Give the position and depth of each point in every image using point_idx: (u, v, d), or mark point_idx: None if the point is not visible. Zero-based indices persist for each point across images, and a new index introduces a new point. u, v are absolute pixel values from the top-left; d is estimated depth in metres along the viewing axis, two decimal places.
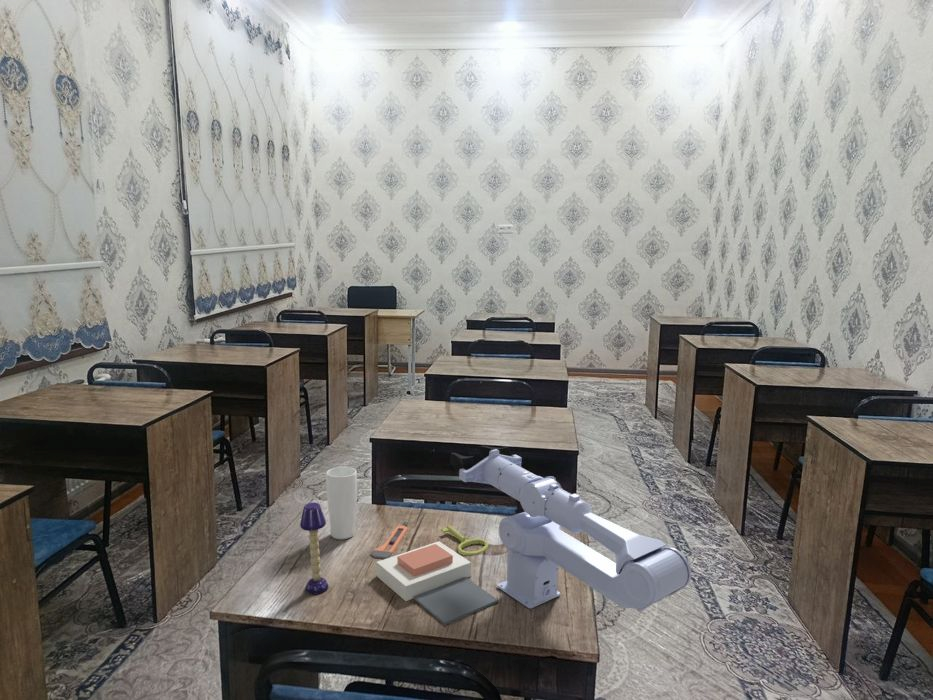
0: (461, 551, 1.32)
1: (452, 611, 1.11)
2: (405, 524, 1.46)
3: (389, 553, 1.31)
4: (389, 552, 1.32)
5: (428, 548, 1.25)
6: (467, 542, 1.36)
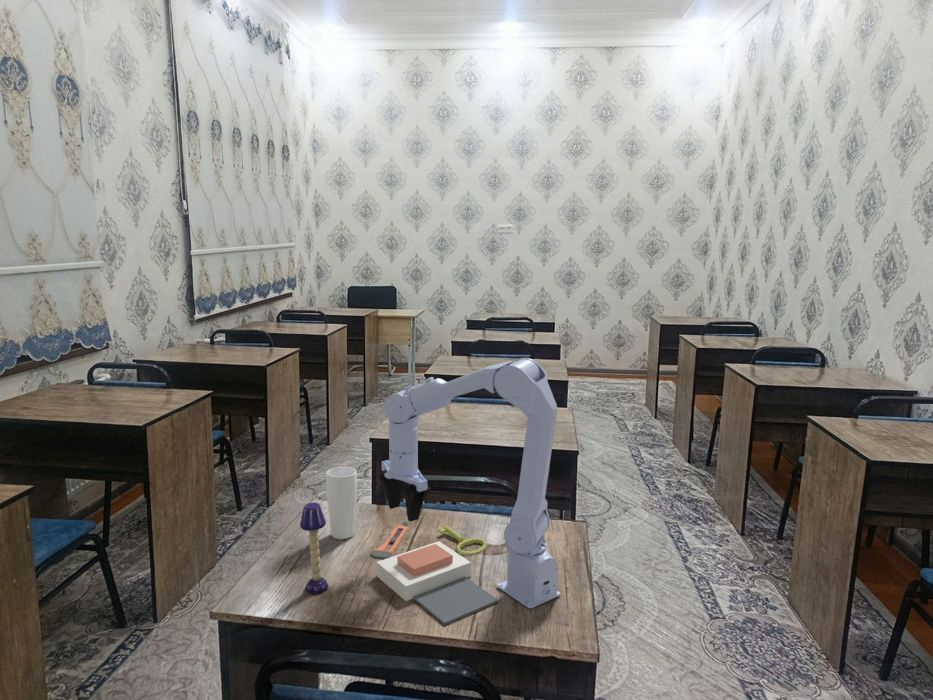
0: (460, 551, 1.32)
1: (452, 611, 1.11)
2: (405, 524, 1.46)
3: (389, 553, 1.31)
4: (389, 552, 1.32)
5: (428, 548, 1.25)
6: (465, 542, 1.36)
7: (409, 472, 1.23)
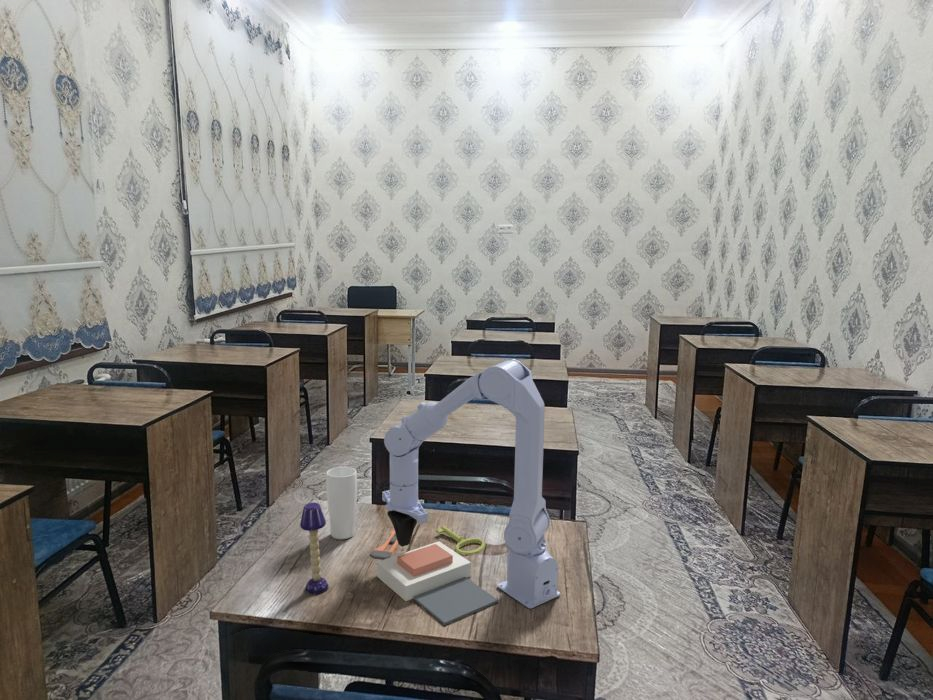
0: (459, 551, 1.32)
1: (452, 611, 1.11)
2: None
3: (389, 553, 1.31)
4: (389, 552, 1.32)
5: (428, 548, 1.25)
6: (464, 542, 1.36)
7: (410, 504, 1.24)
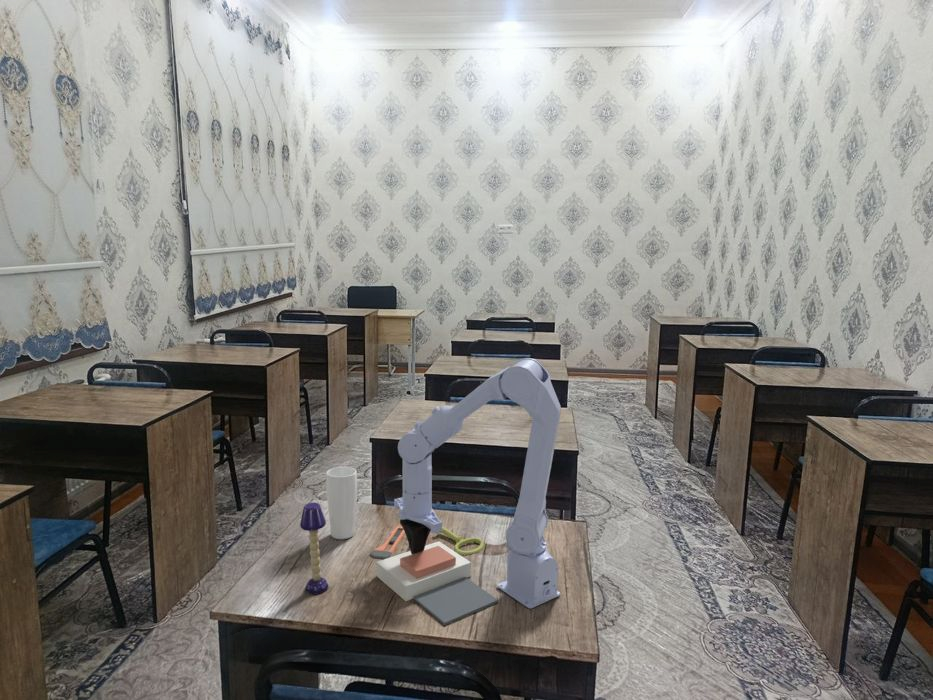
0: (459, 551, 1.32)
1: (452, 611, 1.11)
2: None
3: (389, 553, 1.31)
4: (389, 552, 1.32)
5: (431, 550, 1.24)
6: (463, 542, 1.36)
7: (423, 512, 1.21)
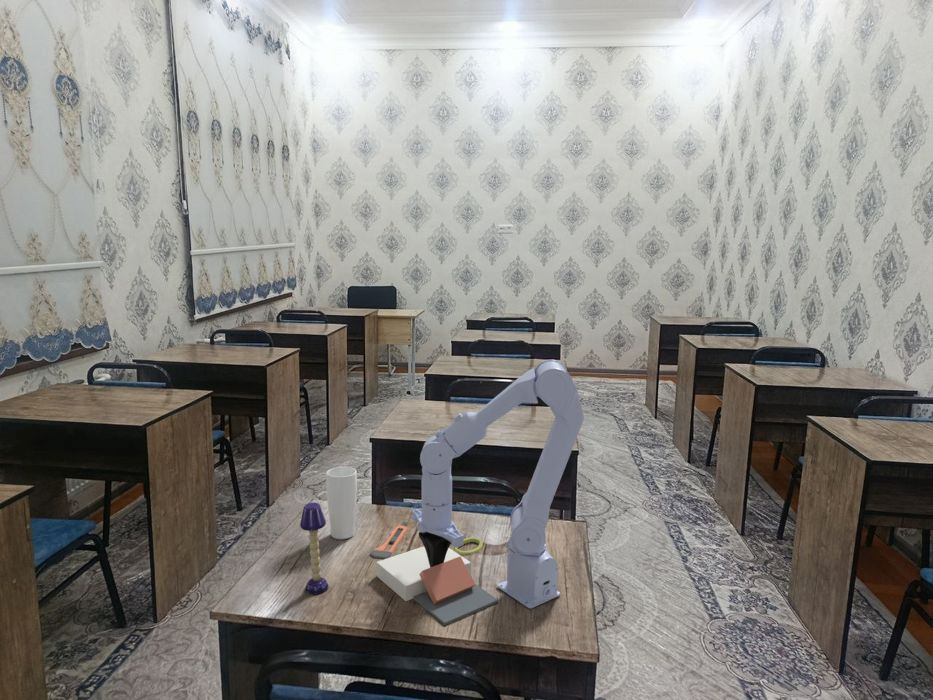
0: (458, 551, 1.32)
1: (452, 611, 1.11)
2: (405, 524, 1.46)
3: (389, 553, 1.31)
4: (389, 552, 1.32)
5: (453, 563, 1.19)
6: None
7: (443, 525, 1.15)
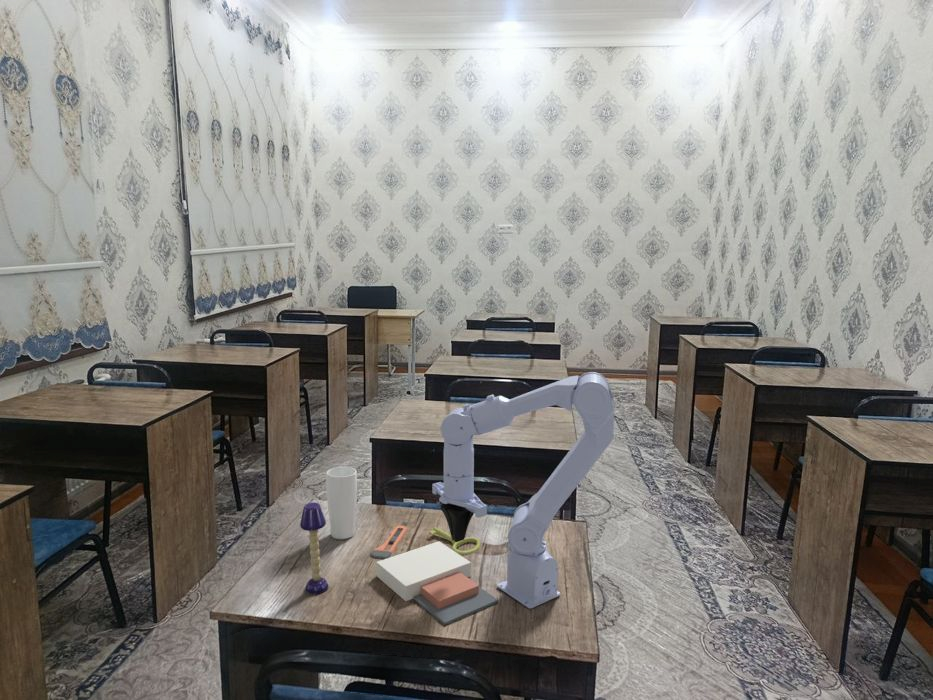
0: (457, 551, 1.32)
1: (452, 611, 1.11)
2: (405, 524, 1.46)
3: (389, 553, 1.31)
4: (389, 552, 1.32)
5: (453, 577, 1.19)
6: (459, 542, 1.36)
7: (466, 496, 1.16)
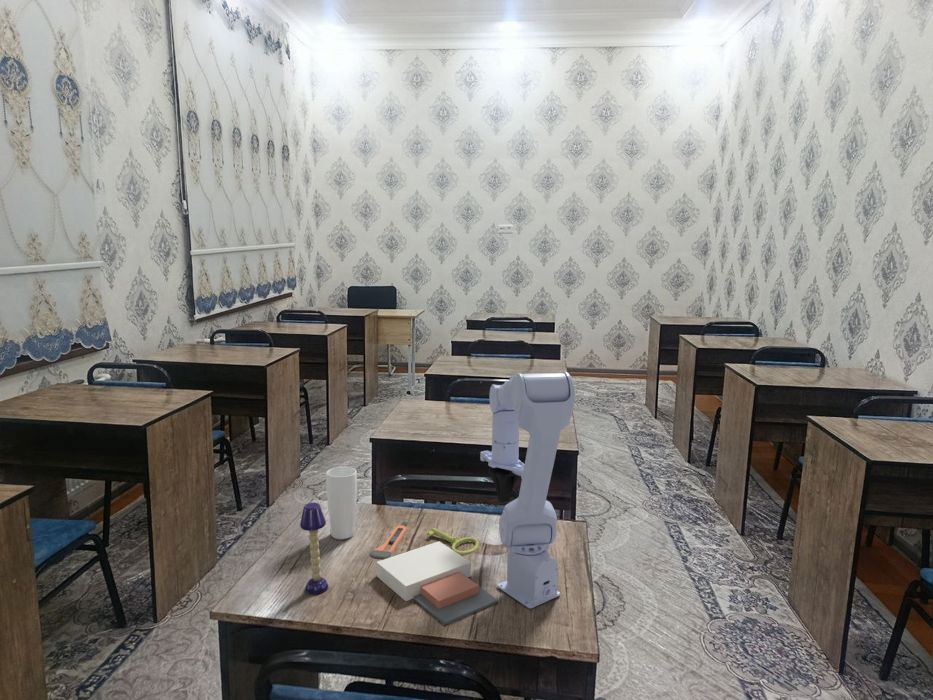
0: (457, 551, 1.32)
1: (452, 611, 1.11)
2: (404, 524, 1.46)
3: (389, 553, 1.31)
4: (389, 552, 1.32)
5: (453, 577, 1.19)
6: (458, 542, 1.36)
7: (512, 461, 1.30)
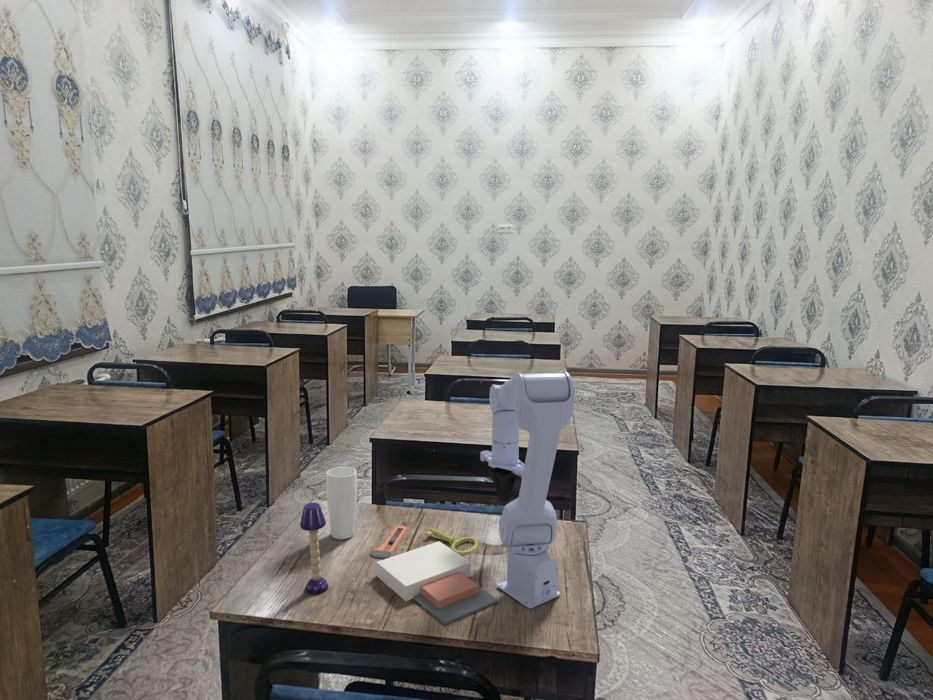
0: (456, 551, 1.32)
1: (452, 611, 1.11)
2: (404, 524, 1.46)
3: (389, 553, 1.31)
4: (389, 552, 1.32)
5: (453, 577, 1.19)
6: (457, 542, 1.36)
7: (512, 461, 1.30)
